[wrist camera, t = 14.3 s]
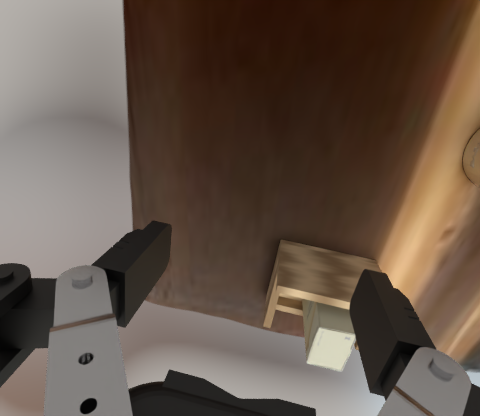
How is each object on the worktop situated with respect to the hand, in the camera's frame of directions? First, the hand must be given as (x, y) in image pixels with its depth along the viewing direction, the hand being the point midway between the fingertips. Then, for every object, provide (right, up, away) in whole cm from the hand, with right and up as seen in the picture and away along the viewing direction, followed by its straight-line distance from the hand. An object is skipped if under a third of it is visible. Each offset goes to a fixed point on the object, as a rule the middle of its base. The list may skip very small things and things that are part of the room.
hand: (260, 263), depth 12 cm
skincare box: (+11, -9, +32) cm, 35 cm away
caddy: (+11, -9, +32) cm, 35 cm away
